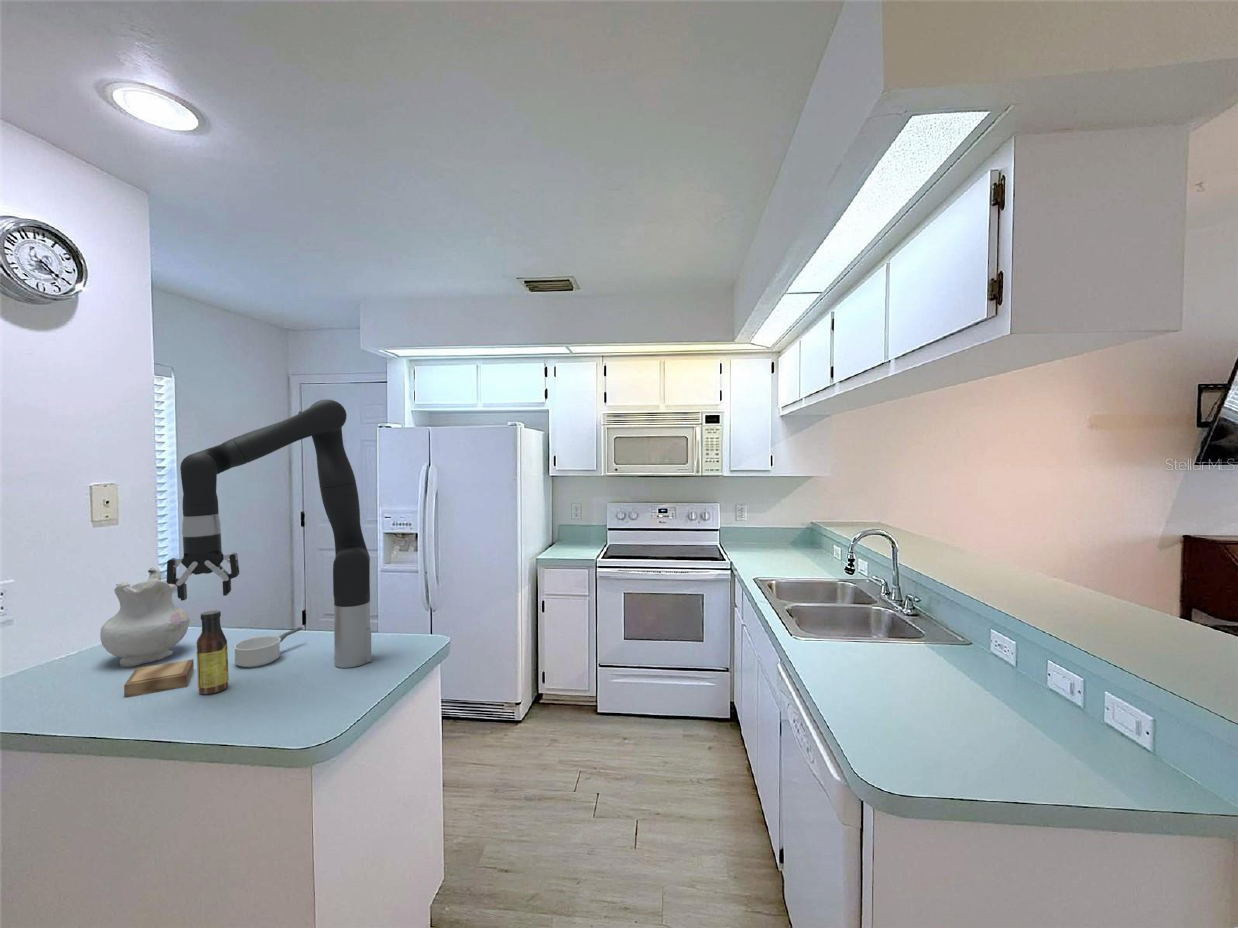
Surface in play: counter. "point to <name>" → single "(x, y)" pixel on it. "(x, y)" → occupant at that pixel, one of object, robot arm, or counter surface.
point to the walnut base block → (159, 678)
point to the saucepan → (259, 650)
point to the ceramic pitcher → (144, 622)
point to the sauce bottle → (212, 655)
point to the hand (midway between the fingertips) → (205, 597)
